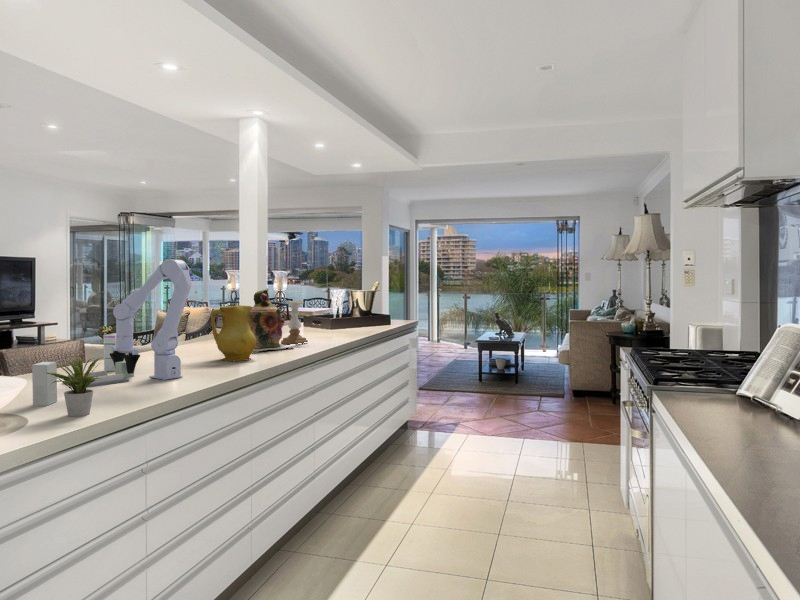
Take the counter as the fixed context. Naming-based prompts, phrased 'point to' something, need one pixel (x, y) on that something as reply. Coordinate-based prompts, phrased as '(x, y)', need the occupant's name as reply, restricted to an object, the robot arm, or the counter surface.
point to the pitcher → (234, 333)
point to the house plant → (78, 388)
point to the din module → (122, 369)
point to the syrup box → (109, 351)
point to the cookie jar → (266, 323)
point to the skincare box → (44, 383)
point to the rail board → (104, 378)
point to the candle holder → (294, 325)
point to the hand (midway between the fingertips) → (124, 372)
